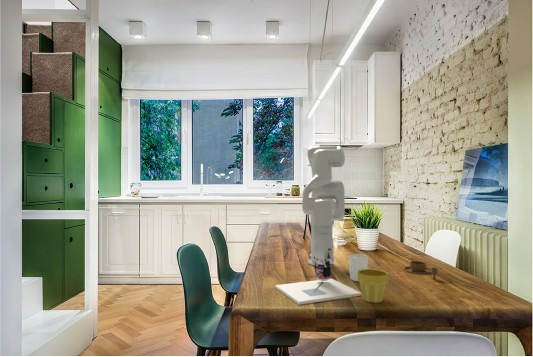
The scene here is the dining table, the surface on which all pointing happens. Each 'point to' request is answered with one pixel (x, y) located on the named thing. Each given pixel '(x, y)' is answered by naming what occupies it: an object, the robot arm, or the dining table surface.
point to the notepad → (316, 291)
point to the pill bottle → (320, 270)
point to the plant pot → (372, 284)
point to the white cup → (357, 265)
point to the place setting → (420, 268)
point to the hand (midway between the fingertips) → (322, 274)
